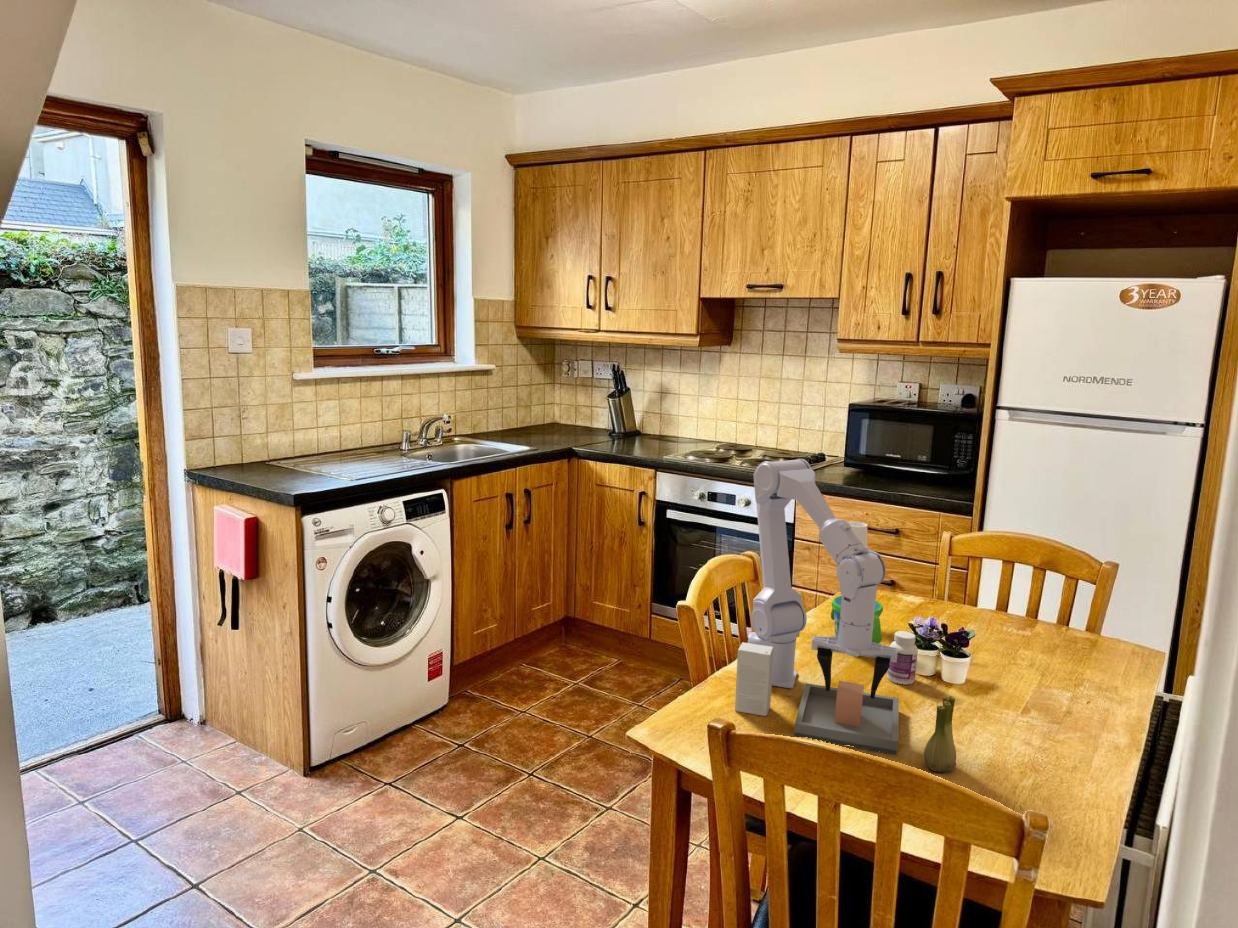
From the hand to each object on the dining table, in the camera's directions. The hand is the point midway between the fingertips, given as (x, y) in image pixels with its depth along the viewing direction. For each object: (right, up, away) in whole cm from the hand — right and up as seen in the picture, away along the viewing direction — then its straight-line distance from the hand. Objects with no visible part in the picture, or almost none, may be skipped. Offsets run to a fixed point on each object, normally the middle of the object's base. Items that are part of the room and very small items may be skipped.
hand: (850, 692), depth 152 cm
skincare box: (-17, -5, +5) cm, 18 cm away
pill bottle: (+16, -3, +20) cm, 25 cm away
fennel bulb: (+11, -9, -13) cm, 19 cm away
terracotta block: (0, -5, +1) cm, 5 cm away
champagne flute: (+13, +3, +51) cm, 52 cm away
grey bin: (0, -6, +1) cm, 6 cm away
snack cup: (+10, 0, +36) cm, 37 cm away
